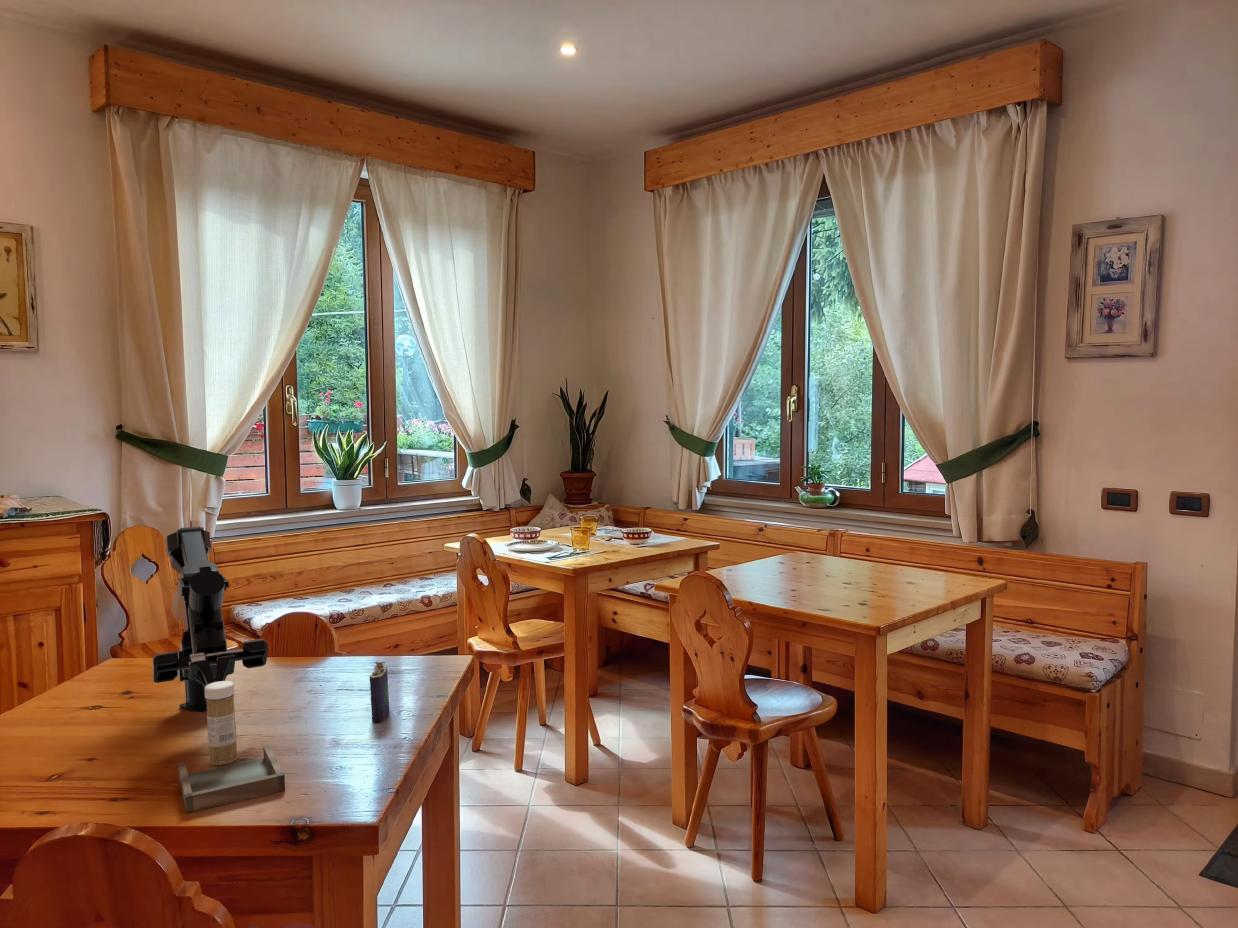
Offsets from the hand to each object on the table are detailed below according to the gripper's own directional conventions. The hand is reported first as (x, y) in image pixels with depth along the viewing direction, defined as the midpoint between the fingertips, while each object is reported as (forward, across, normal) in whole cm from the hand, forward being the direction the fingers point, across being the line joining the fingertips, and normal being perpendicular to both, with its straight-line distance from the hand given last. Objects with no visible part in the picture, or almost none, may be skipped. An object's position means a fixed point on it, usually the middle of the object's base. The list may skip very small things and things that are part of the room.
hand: (217, 701), depth 152 cm
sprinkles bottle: (+10, 0, -2) cm, 11 cm away
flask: (+5, -29, -7) cm, 30 cm away
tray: (+18, 0, +5) cm, 18 cm away
